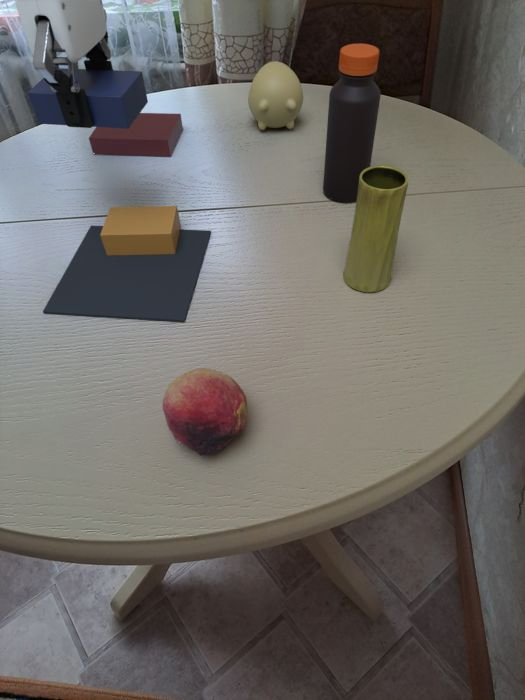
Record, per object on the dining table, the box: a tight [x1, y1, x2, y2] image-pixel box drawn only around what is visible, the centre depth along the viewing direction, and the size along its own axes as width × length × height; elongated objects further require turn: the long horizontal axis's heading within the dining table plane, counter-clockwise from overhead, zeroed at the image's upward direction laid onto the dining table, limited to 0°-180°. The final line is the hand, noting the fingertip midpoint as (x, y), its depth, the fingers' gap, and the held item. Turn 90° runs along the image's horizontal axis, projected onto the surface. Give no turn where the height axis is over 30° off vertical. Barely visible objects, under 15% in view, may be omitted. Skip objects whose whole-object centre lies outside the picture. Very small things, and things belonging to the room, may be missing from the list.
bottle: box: [322, 43, 382, 204], centre depth 70 cm, size 7×7×20 cm
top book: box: [100, 205, 182, 256], centre depth 69 cm, size 10×7×4 cm
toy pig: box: [247, 61, 304, 131], centre depth 90 cm, size 10×12×11 cm
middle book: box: [27, 67, 149, 129], centre depth 58 cm, size 11×7×4 cm, turn 80°
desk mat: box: [42, 225, 212, 323], centre depth 67 cm, size 18×18×1 cm
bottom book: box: [88, 112, 184, 158], centre depth 90 cm, size 14×10×3 cm
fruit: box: [162, 367, 248, 456], centre depth 47 cm, size 8×8×8 cm
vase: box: [342, 164, 409, 293], centre depth 59 cm, size 6×6×14 cm
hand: (93, 109), depth 59 cm, fingers closed on middle book, 7 cm apart
